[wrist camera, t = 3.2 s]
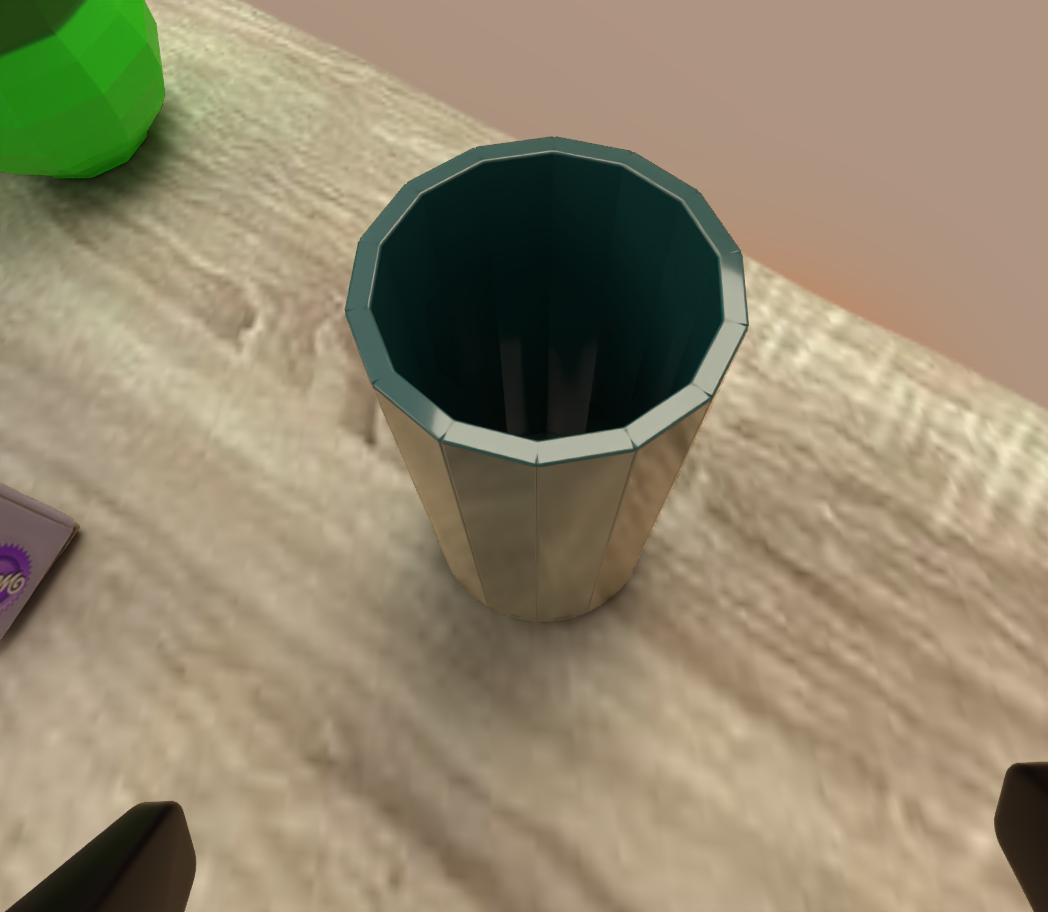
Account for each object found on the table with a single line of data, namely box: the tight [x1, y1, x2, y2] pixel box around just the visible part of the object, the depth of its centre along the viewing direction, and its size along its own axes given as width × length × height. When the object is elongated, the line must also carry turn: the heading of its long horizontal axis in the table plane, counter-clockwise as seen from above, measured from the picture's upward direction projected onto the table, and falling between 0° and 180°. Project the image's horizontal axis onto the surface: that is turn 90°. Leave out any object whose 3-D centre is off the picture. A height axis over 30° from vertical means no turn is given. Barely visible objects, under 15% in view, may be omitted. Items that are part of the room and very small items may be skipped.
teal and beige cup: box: [345, 137, 749, 623], centre depth 18 cm, size 7×7×12 cm
